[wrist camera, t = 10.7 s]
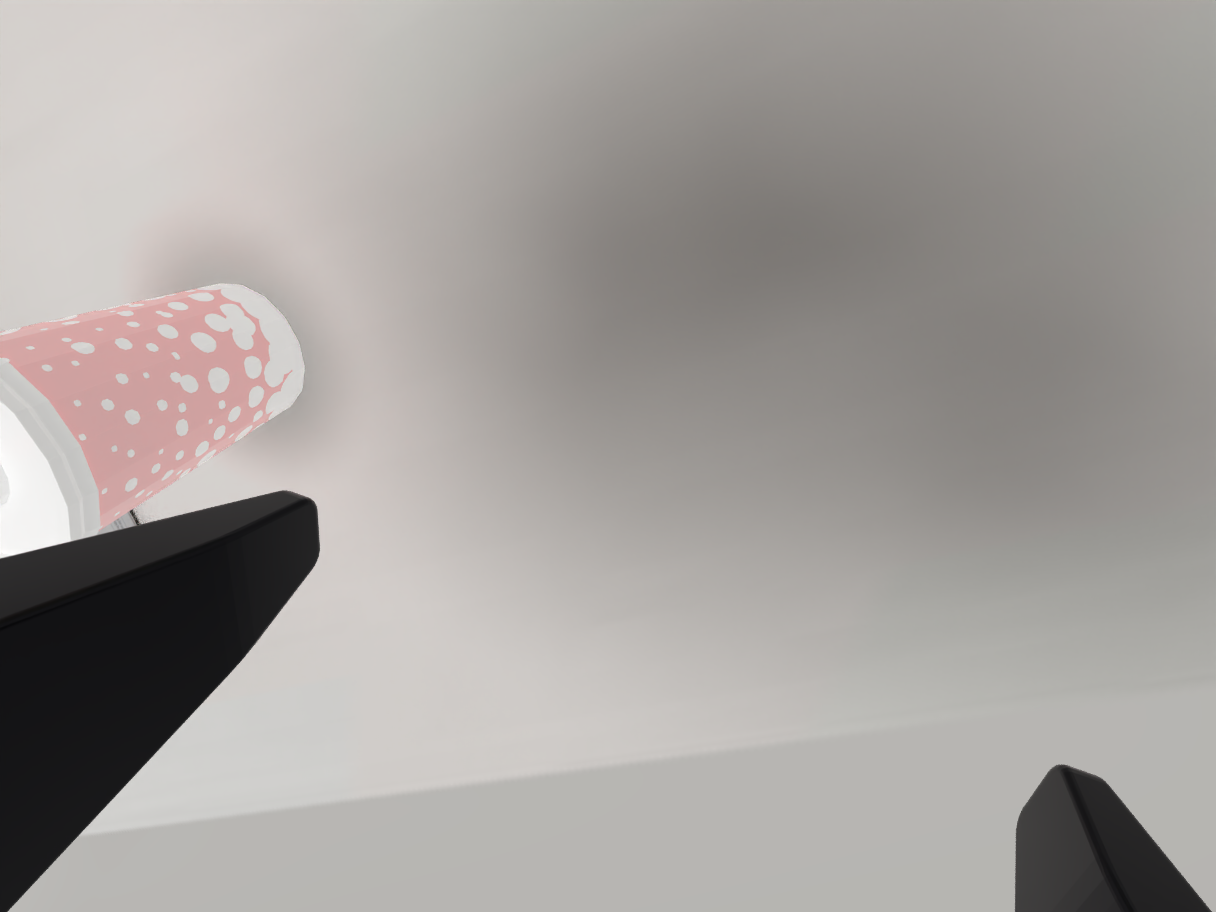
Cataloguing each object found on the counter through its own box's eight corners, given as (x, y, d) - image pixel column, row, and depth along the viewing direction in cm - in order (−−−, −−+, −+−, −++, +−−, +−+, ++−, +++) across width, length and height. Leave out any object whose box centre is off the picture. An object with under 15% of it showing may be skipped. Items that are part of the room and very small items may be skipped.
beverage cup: (280, 243, 22) (-390, 425, 11) (350, 425, 25) (-138, 737, 13) (146, 274, 25) (-521, 450, 13) (222, 437, 27) (-288, 710, 15)
